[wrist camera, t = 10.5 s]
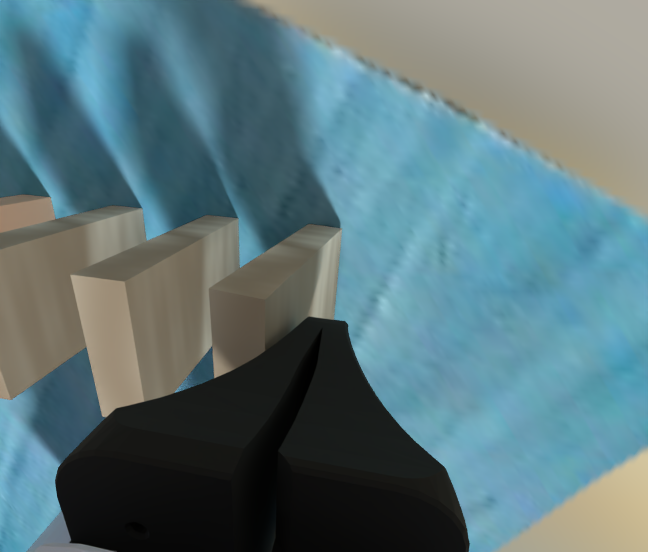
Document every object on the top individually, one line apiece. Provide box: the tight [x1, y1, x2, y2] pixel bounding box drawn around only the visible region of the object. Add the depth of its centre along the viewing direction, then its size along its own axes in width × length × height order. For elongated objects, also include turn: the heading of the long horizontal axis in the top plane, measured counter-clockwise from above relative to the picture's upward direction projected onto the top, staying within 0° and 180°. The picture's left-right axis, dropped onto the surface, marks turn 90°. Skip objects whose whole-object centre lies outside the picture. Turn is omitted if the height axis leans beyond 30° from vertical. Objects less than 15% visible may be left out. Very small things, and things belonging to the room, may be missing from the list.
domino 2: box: [0, 205, 146, 400], centre depth 14 cm, size 2×5×8 cm, turn 176°
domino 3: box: [70, 215, 240, 417], centre depth 14 cm, size 2×5×8 cm, turn 176°
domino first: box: [209, 224, 342, 378], centre depth 13 cm, size 2×5×8 cm, turn 176°
